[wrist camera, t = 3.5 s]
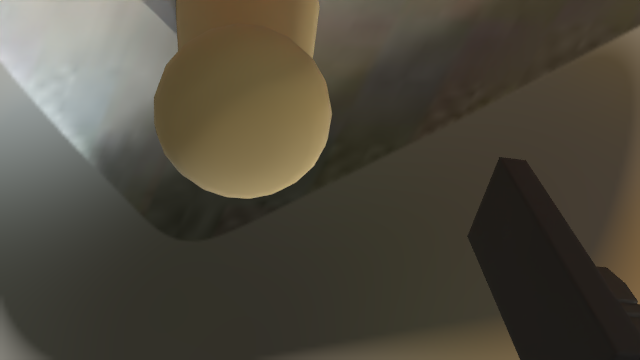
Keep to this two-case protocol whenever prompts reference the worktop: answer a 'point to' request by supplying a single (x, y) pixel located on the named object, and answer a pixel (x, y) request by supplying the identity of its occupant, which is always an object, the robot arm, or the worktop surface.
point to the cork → (243, 95)
